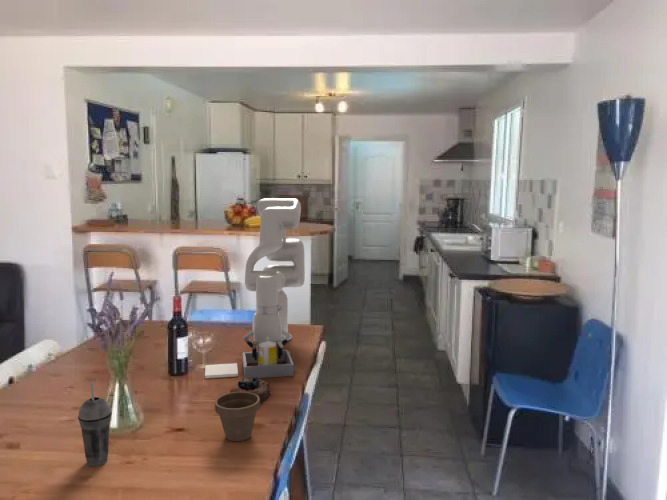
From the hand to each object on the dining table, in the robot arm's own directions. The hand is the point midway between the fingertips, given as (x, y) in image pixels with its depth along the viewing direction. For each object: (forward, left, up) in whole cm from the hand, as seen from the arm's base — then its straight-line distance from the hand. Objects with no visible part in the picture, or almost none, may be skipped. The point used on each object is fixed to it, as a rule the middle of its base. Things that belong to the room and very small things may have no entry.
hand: (267, 358), depth 196 cm
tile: (0, -16, -4) cm, 17 cm away
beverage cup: (+58, -45, -4) cm, 74 cm away
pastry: (+25, -7, -4) cm, 26 cm away
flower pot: (+51, -12, -4) cm, 53 cm away
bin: (0, 0, -4) cm, 4 cm away
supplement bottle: (0, 0, -4) cm, 4 cm away
